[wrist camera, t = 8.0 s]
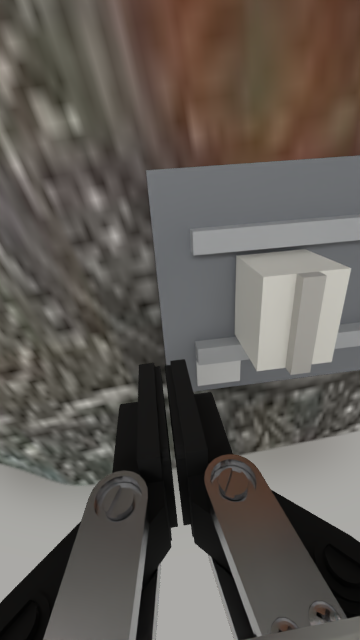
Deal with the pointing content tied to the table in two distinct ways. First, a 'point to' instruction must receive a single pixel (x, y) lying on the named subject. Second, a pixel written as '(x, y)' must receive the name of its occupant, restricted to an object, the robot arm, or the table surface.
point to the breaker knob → (289, 308)
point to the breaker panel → (243, 239)
